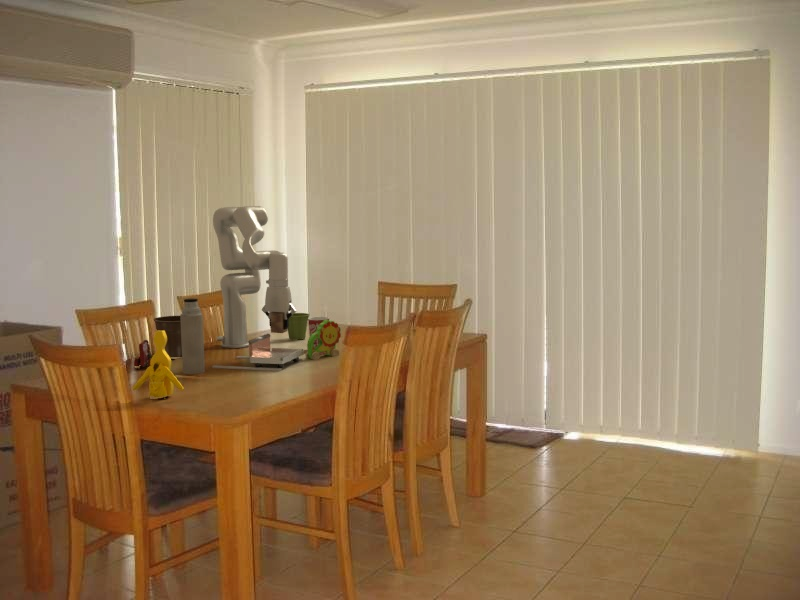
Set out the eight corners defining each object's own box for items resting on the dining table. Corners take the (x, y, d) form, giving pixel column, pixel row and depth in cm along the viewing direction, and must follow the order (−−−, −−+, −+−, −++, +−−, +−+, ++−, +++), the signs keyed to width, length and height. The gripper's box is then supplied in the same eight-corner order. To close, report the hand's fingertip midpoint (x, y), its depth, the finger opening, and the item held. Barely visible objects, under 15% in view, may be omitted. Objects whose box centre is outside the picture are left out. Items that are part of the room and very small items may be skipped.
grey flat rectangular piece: (212, 370, 352) (212, 365, 351) (237, 360, 372) (237, 356, 371) (280, 373, 343) (280, 368, 343) (302, 362, 363) (302, 358, 363)
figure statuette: (129, 400, 303) (126, 333, 300) (139, 394, 311) (136, 329, 308) (182, 400, 301) (179, 333, 298) (191, 395, 308) (188, 329, 306)
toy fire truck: (159, 364, 365) (158, 338, 364) (151, 370, 353) (150, 343, 352) (141, 364, 365) (140, 338, 364) (133, 370, 353) (131, 343, 352)
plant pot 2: (309, 341, 416) (308, 315, 414) (282, 341, 416) (281, 316, 414) (312, 336, 427) (311, 312, 426) (286, 337, 427) (285, 312, 426)
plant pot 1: (203, 357, 379) (201, 318, 377) (166, 362, 369) (164, 322, 367) (185, 352, 391) (183, 314, 390) (148, 357, 381) (147, 318, 379)
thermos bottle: (190, 371, 349) (187, 297, 346) (209, 372, 347) (206, 297, 343) (178, 375, 342) (175, 299, 339) (197, 376, 339) (194, 300, 336)
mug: (329, 351, 388) (328, 319, 386) (307, 351, 388) (306, 319, 386) (331, 346, 400) (330, 315, 399) (310, 346, 400) (309, 315, 398)
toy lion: (313, 362, 365) (312, 323, 363) (304, 360, 368) (303, 322, 367) (344, 356, 376) (343, 319, 374) (335, 355, 379) (334, 318, 378)
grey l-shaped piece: (246, 368, 348) (245, 340, 347) (269, 359, 367) (268, 332, 366) (282, 370, 344) (281, 342, 342) (303, 360, 363) (302, 333, 361)
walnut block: (270, 332, 373) (270, 312, 372) (276, 330, 378) (275, 310, 377) (282, 333, 372) (282, 313, 370) (287, 331, 376) (287, 311, 375)
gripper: (254, 283, 371) (255, 328, 373) (294, 285, 366) (295, 331, 369) (263, 281, 378) (263, 325, 380) (302, 283, 373) (302, 328, 376)
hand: (279, 328), depth 374 cm, fingers closed on walnut block, 5 cm apart
